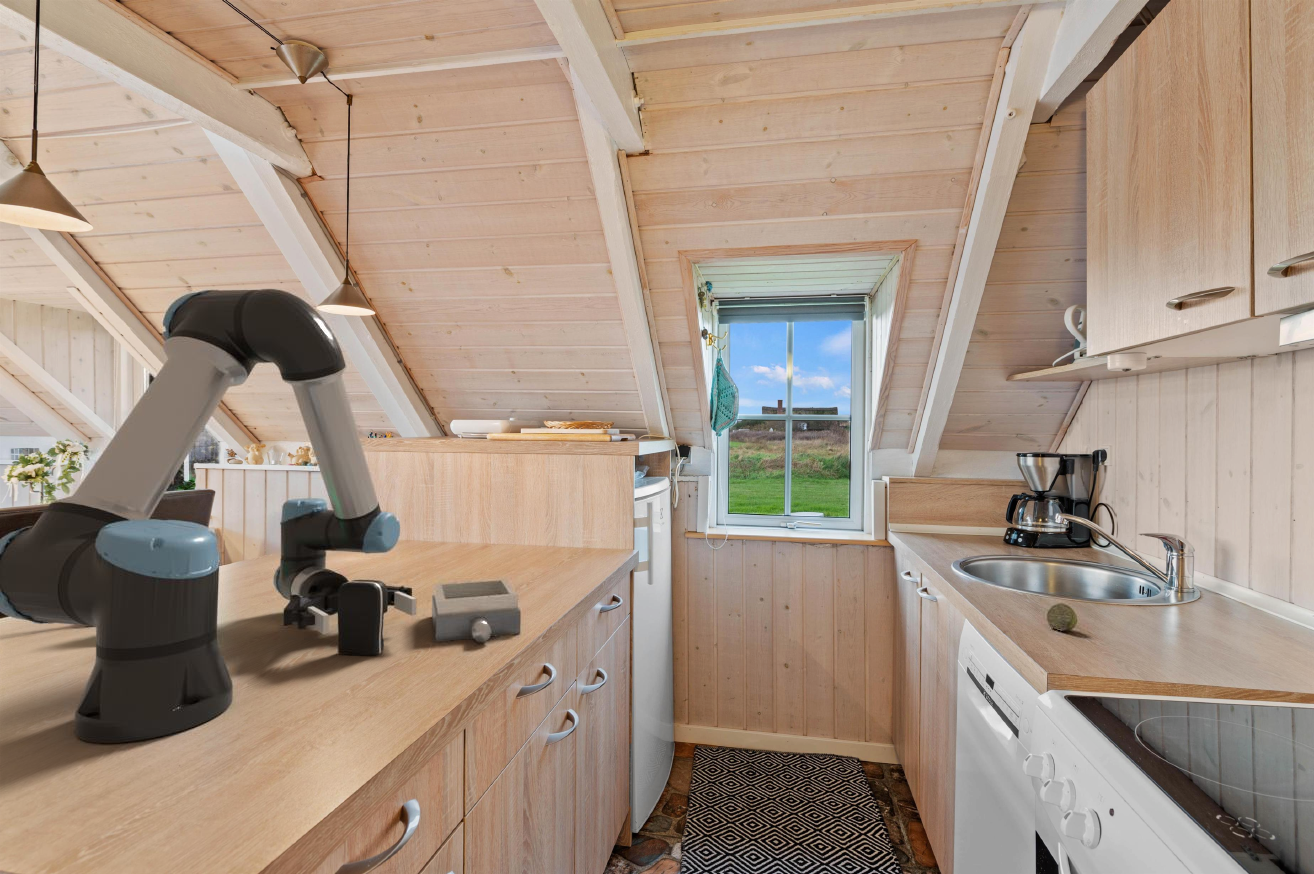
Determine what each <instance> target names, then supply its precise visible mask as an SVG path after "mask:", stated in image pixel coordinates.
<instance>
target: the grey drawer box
mask: <svg viewBox="0 0 1314 874" xmlns="http://www.w3.org/2000/svg"><path fill="white" fill-rule="evenodd" d="M433 587H434V591H433V593H434V594H433V595H432V596H431V598H432V599H431V619H433V620H432V626H433V632H434V638H435V643H444V642H452V641H451V640H454V641H462V640H461V639H464V640H471V638H473V640H474V641H476V642H477V643H484V642H485V643H486V641H488V640H489V639H490V638H491V637H490V636H493V637H496V636H495V635H502V636H506V635H505V634H512V635H519V634H518V633H520V634H521V618H522V617H521V615H522V613H521V612H522V610H521V608H519V603H518V601H519V595H518V593H517V592H516V590H515V589H514V587H513V586H512V585H511V583H510V581H508V579H507V578H499V579H498V578H497V579H484V580H482V579H481V580H471V581H456V582H442V583H440V582H439V583H434V586H433Z"/></svg>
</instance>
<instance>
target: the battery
mask: <svg viewBox="0 0 1314 874" xmlns="http://www.w3.org/2000/svg"><path fill="white" fill-rule="evenodd" d="M386 586H387V585H386V583H385V582H383V581H381V580H375V579H353V580H350V581H349V582H346V583H344V584H343V585H342V586H341V587H340V589H339V593H338V613H337V631H338V635H337V636H338V637H337V638H338V639H337V640H338V641H337V643H338V644H337V653H338V654H342V655H351V656H378V655H380V654H381V653H382V652H383V651H384V650H385V643H384V637H383V629H384V616H385V615H384V614H386V613H387V612H388V609H389V608H388V593H387V587H386Z"/></svg>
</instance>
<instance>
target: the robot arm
mask: <svg viewBox="0 0 1314 874" xmlns="http://www.w3.org/2000/svg"><path fill="white" fill-rule="evenodd" d="M162 326H163V327H164V328H165V331H163V332H162V335H163V338H164V343H163V351H164V354H165V355H166V357H167V360H166V362H165V363H164V364H163V366H162V367H161V369H160V370H159V371H158V373H157V374H156V376H155V378H153V380H152V382H151V383H150V384H149V386H148V387H147V389H145V392H144V393H143V394H142V396H141V397H140V399H139V400H138V401H137V402H136V405H135V406H134V407H133V409H132V410H131V412H130V413H129V415H128V416H127V418H125V420H124V422H123V423H122V424H121V426H120V427H119V429H118V430H117V432H116V433H115V434H114V436H113V437H112V438H111V440H110V442H109V443H108V445H107V446H106V447H105V449H104V450H103V451H102V453H101V455H100V456H99V458H98V459H97V461H96V462H95V464H93V466H92V468H91V469H90V471H88V473H87V475H85V478H84V479H83V481H82V482H81V483H80V485H79V486H78V488H77V489H76V491H75V492H74V494H72V495H71V496H66V497H64V498H60V499H59V498H58V499H56V500H53V501H51V502H50V503H49V504H48V505H47V507H46V508H45V510H44V511H43V513H42V514H41V515H40V516H39V518H38V519H37V521H36V522H35V523H34V525H32V526H31V525H30V526H24V527H22V528H19V529H17V530H16V531H15V530H14V531H11V532H9V533H8V534H6V535H4V536H3V537H1V538H0V613H1V614H4V615H5V616H8V617H10V618H13V619H17V620H18V619H19V620H25V621H29V622H31V623H34V624H39V625H44V624H64V625H76V626H77V625H78V626H85V627H96V631H95V632H96V633H95V634H96V635H95V648H96V649H95V664H94V666H93V668H92V671H91V673H90V675H89V678H88V680H87V683H86V685H85V687H84V690H83V692H82V695H81V698H80V699H79V703H78V705H77V708H76V709H75V714H74V735H75V737H76V738H77V739H79V740H81V741H85V742H89V743H94V744H95V743H96V744H120V743H130V742H137V741H143V740H150V739H154V738H159V737H163V736H168V735H170V734H175V733H178V732H182V731H184V730H187V729H190V728H192V727H196V726H198V725H200V724H203V723H205V722H207V721H210V720H212V719H213V718H216V717H218V716H219V715H220V714H223V713H224V712H225V711H226V710H227V709H228V708H229V707H230V706H231V704H232V703H233V700H234V699H233V697H234V696H233V694H234V693H233V692H234V691H233V687H234V685H233V680H232V677H231V676H230V673H229V670H228V668H227V665H226V663H225V660H224V657H223V655H222V653H221V650H220V648H219V645H218V644H219V643H218V613H219V612H218V608H219V607H218V602H219V583H220V581H219V580H220V578H219V577H220V563H221V562H220V560H221V559H220V558H221V557H220V555H219V550H218V547H219V546H218V539H217V538H218V537H217V535H216V533H215V532H214V531H213V530H212V529H211V528H210V527H208V526H207V525H203V524H200V523H196V522H192V521H187V520H186V521H184V520H178V519H177V520H176V519H167V520H165V519H153V518H152V519H151V516H152V515H153V513H154V511H155V509H156V508H157V506H158V505H159V503H160V501H161V500H162V498H163V496H164V495H165V493H166V491H167V490H168V488H169V486H170V485H171V483H172V481H173V480H174V479H175V477H176V475H177V473H178V471H179V470H180V468H181V466H182V465H183V463H184V461H185V460H186V459H187V457H188V455H189V454H190V452H191V450H192V449H193V447H194V446H195V444H196V441H198V439H199V437H200V435H201V434H202V432H203V431H204V429H205V428H206V425H207V424H208V423H209V421H210V419H211V417H212V415H213V414H214V412H215V410H216V409H217V407H218V406H219V404H220V403H221V401H222V399H223V397H224V396H225V394H226V393H227V391H228V389H229V388H230V387H237V386H241V385H243V384H245V382H246V381H247V380H248V378H249V376H250V374H251V373H252V371H253V370H254V368H255V366H256V365H257V364H265V363H268V364H270V363H272V364H274V365H275V366H276V367H277V368H278V370H279V374H280V377H281V379H282V381H283V382H285V383H286V384H289V385H291V387H292V390H293V393H294V396H295V399H296V401H297V405H298V409H299V411H300V414H301V417H302V419H303V423H304V426H305V429H306V431H307V435H308V439H309V440H310V444H311V447H312V450H313V453H314V455H315V459H316V462H317V465H318V469H319V471H320V474H321V477H322V480H323V483H324V486H325V489H326V493H327V495H328V499H329V501H330V505H331V507H332V509H329V508H328V506H327V504H328V503H327V500H326V499H323V498H315V497H314V498H313V497H312V498H310V497H309V498H294V499H293V498H292V499H289V500H286V501H285V502H284V503H283V504H282V509H281V518H280V519H281V521H280V559H279V561H280V562H279V566H278V567H277V569H276V570H275V572H274V575H273V585H274V588H275V589H276V591H277V592H278V593H279V594H280V595H281V596H282V597H283V598H284V599H285V600H286V601H287V600H288V601H289V602H288V603H287V605H286V606H285V607H284V608H283V620H282V621H283V625H282V626H283V627H290V626H292V625H294V623H297V630H305V629H307V627H311V628H312V629H314V630H316V631H317V632H319V633H321V634H322V635H325V634H329V629H330V628H329V627H330V624H329V621H330V616H334V615H335V614H338V593H339V589H340V587H341V586H342V585H343V584H344V583H346V582H350V581H349V579H348V578H347V576H346V577H345V576H344V575H342V574H341V573H338V572H336V571H334V570H331V569H328V568H326V560H327V559H326V558H327V552H328V551H330V552H347V553H350V552H351V553H362V554H367V555H368V554H384V553H388V552H390V551H392V550H393V548H394V547H395V546H396V545H397V544H398V541H399V539H400V536H401V524H400V521H399V518H398V517H397V516H396V515H395V514H394V513H392V512H387V511H382V510H381V507H380V502H379V501H378V500H379V499H378V497H377V492H376V490H375V486H374V484H373V479H372V476H371V472H370V469H369V466H368V462H367V459H366V455H365V451H364V449H363V444H362V440H361V438H360V435H359V434H360V433H359V430H358V427H357V424H356V420H355V417H354V414H353V411H352V405H351V403H350V399H349V396H348V392H347V389H346V386H345V382H344V379H343V374H344V373H345V370H346V369H347V365H346V362H345V359H344V358H345V357H344V355H343V351H342V348H341V346H340V345H339V342H338V339H337V337H336V336H335V334H334V333H333V332H332V330H331V328H330V326H329V324H328V323H327V322H326V320H325V319H324V318H323V317H322V316H321V315H320V314H319V312H318V311H317V310H316V309H315V308H313V306H312V305H310V304H309V303H308V302H306V301H305V300H304V299H302V298H301V297H299V296H297V295H295V294H293V293H291V292H289V291H285V290H282V289H278V288H277V289H275V288H263V289H233V290H231V289H223V290H219V289H205V290H201V291H196V292H191V293H190V292H189V293H186V294H184V295H182V296H181V297H178V298H177V299H176V300H174V301H173V302H172V303H171V304H170V306H168V308H167V309H166V311H165V314H164V317H163V320H162ZM386 587H387V593H388V606H389V607H393V608H394V609H396V610H398V611H400V612H403V613H405V614H407V615H409V616H412V617H413V616H417V608H418V607H417V605H418V603H417V602H418V599H417V598H416V597H415V596H413V588H412V587H405V586H404V585H401V586H394V585H386Z"/></svg>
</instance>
